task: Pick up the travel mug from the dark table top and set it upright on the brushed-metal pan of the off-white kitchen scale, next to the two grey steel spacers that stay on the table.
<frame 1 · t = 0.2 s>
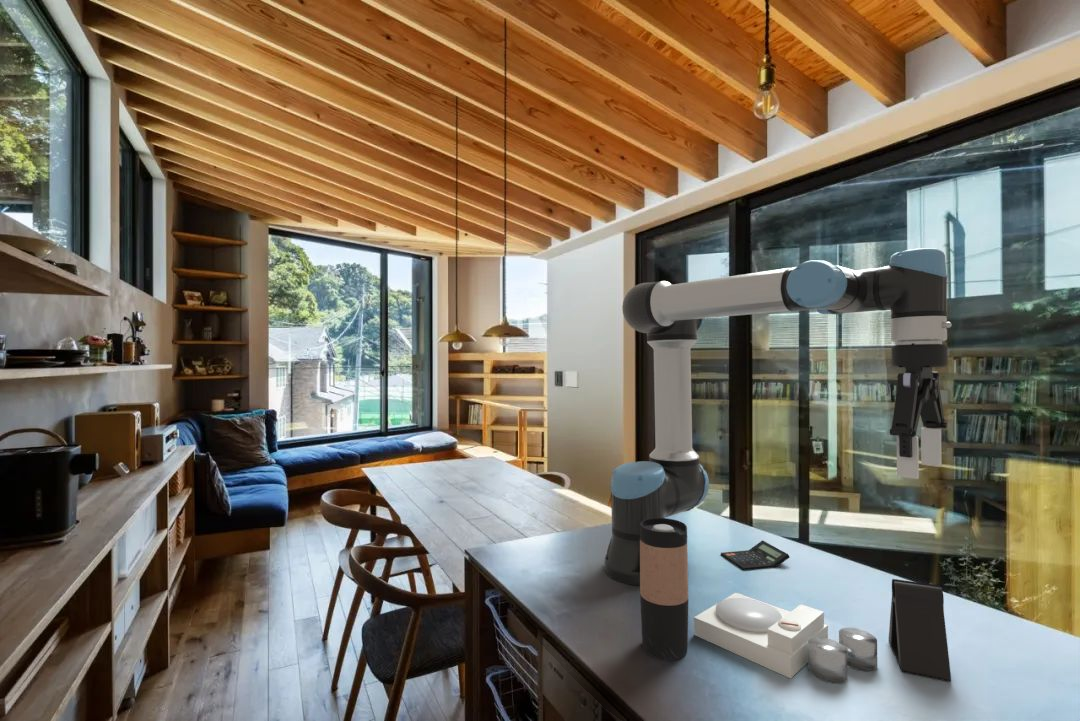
hand: (920, 471, 85), 28 cm above the worktop, fingers open, 13 cm apart
steel spacer A: (858, 662, 78), on the worktop
scale: (759, 639, 85), on the worktop
steel spacer B: (827, 673, 76), on the worktop
travel mug: (664, 649, 83), on the worktop
phone stand: (917, 662, 78), on the worktop
calculator: (754, 562, 119), on the worktop
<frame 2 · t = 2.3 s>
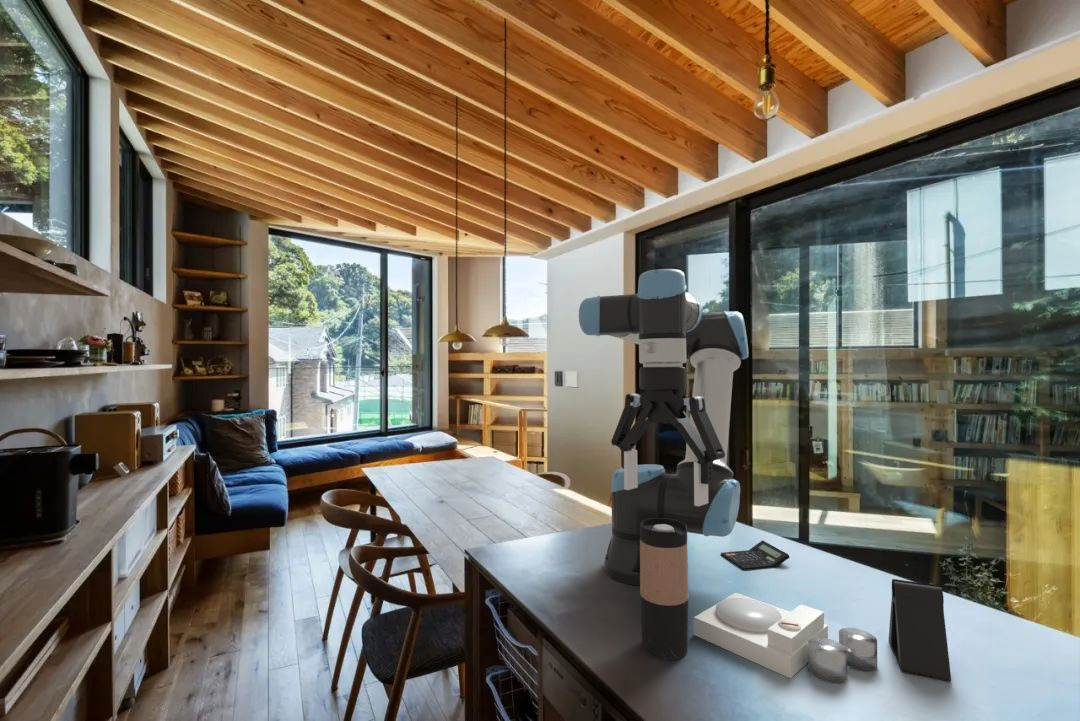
hand: (664, 496, 83), 25 cm above the worktop, fingers open, 13 cm apart
nothing on the worktop moved.
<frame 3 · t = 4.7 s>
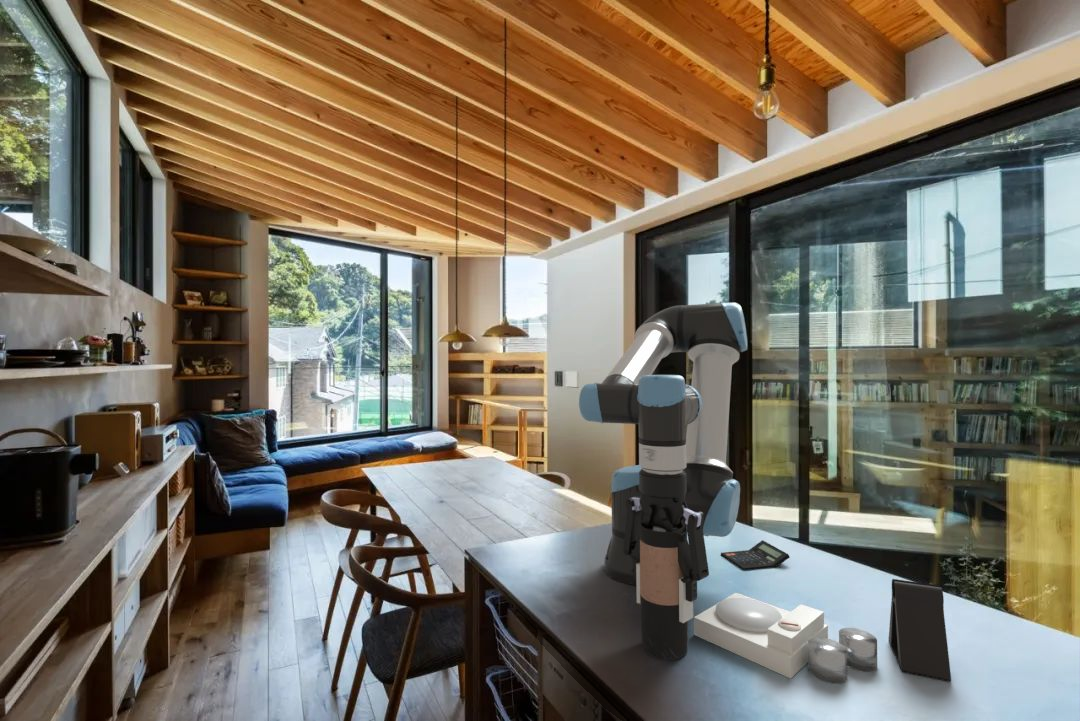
hand: (664, 609, 83), 6 cm above the worktop, fingers closed on travel mug, 8 cm apart
travel mug: (664, 649, 83), on the worktop, touching gripper
everything else where it was.
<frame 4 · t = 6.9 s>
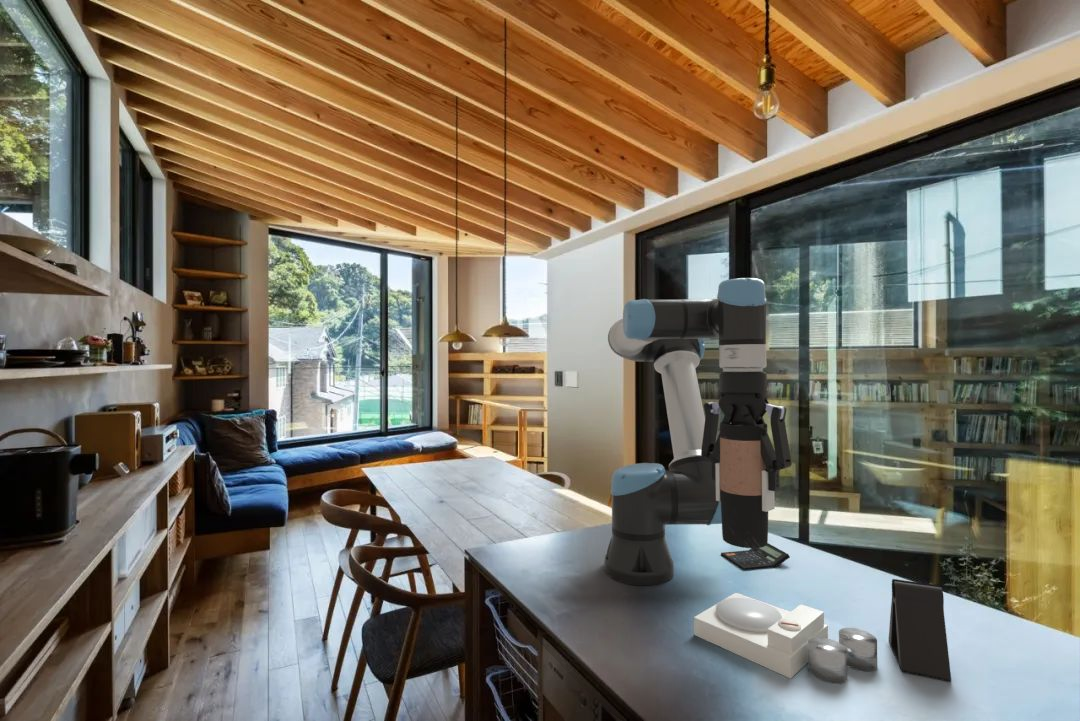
hand: (744, 504, 87), 22 cm above the worktop, fingers closed on travel mug, 8 cm apart
travel mug: (744, 542, 86), point 16 cm above the worktop, touching gripper
everything else where it was.
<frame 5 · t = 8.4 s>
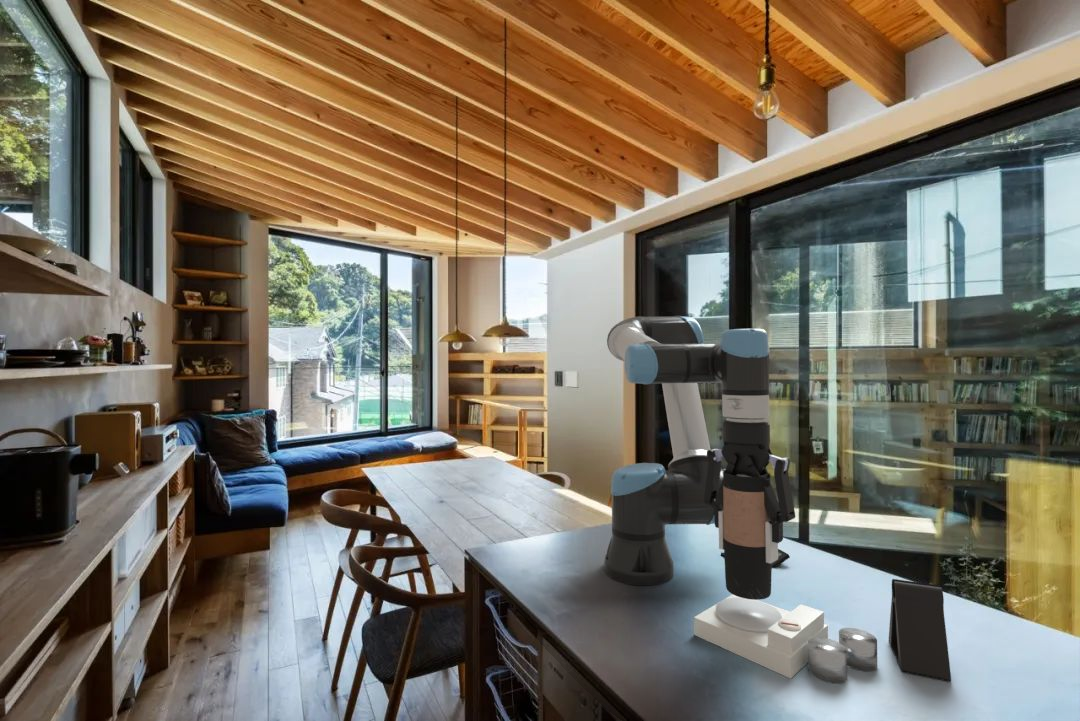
hand: (747, 553, 87), 14 cm above the worktop, fingers closed on travel mug, 8 cm apart
travel mug: (748, 591, 86), point 7 cm above the worktop, touching gripper
everything else where it was.
when the fingers open (11 cm above the worktop, at t = 9.4 s): travel mug drops 1 cm, resting on scale.
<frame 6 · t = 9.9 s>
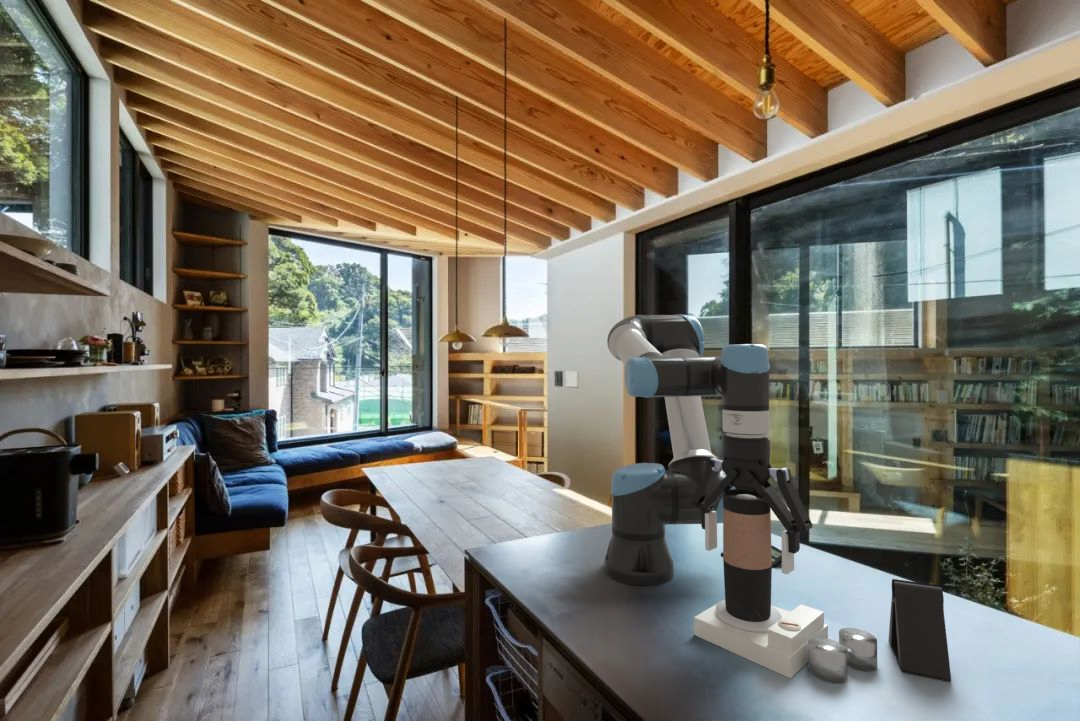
hand: (747, 559, 87), 13 cm above the worktop, fingers open, 13 cm apart
travel mug: (747, 612, 87), point 4 cm above the worktop, touching scale
everything else where it was.
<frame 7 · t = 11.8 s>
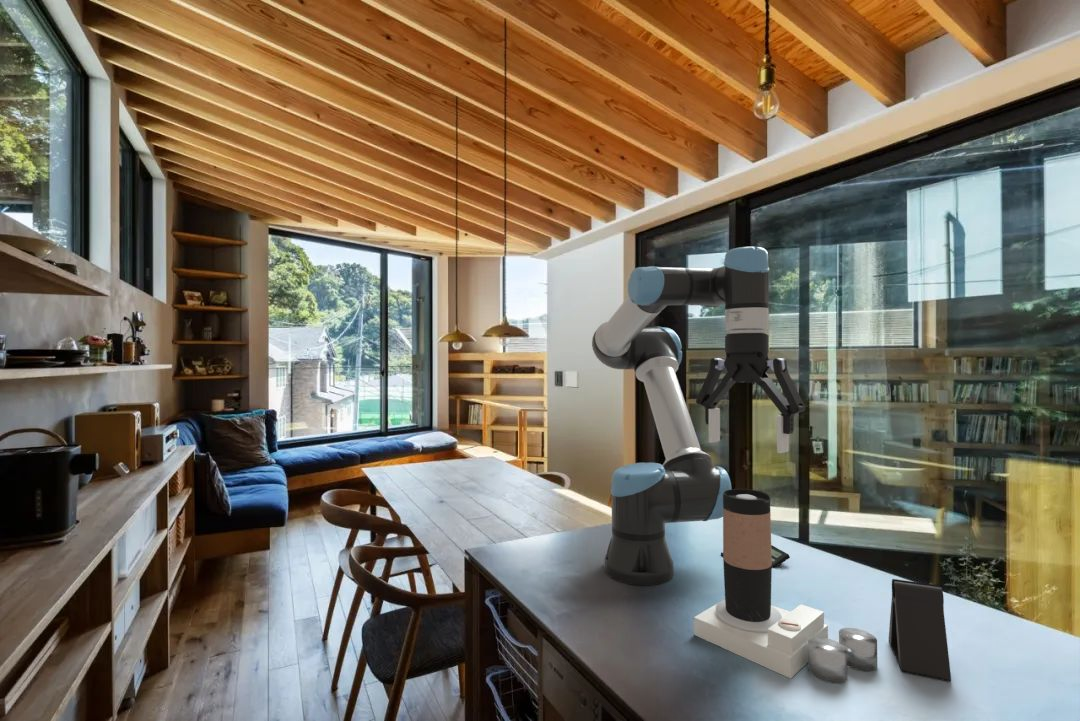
hand: (746, 446, 95), 31 cm above the worktop, fingers open, 13 cm apart
nothing on the worktop moved.
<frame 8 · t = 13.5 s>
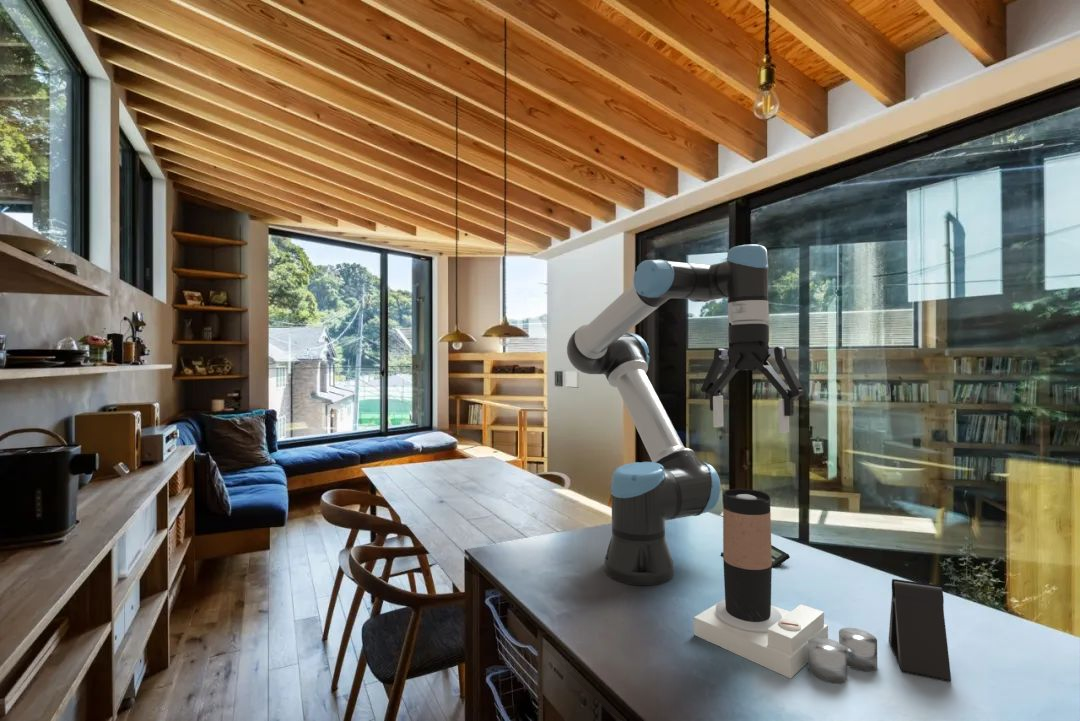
hand: (749, 430, 102), 33 cm above the worktop, fingers open, 13 cm apart
nothing on the worktop moved.
at the end: travel mug inside the target area on the scale (0.1 cm from its centre), point 3.6 cm above the scale's base; travel mug touching scale; travel mug tilted 0° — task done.
